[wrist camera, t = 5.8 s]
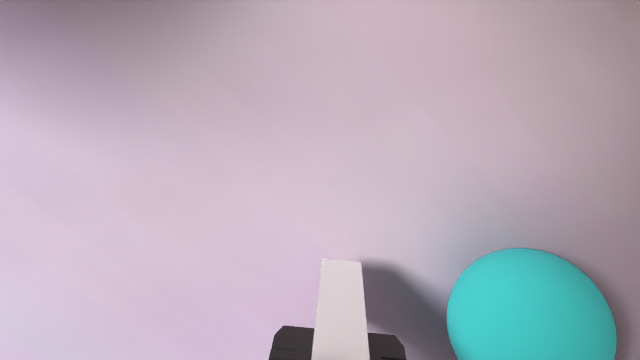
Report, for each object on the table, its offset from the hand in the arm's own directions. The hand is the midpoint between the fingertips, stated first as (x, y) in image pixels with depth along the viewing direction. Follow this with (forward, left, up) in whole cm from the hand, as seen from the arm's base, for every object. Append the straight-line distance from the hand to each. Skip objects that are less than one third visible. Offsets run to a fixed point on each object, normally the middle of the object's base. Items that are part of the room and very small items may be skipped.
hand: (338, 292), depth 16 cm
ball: (+7, 0, +1) cm, 7 cm away
